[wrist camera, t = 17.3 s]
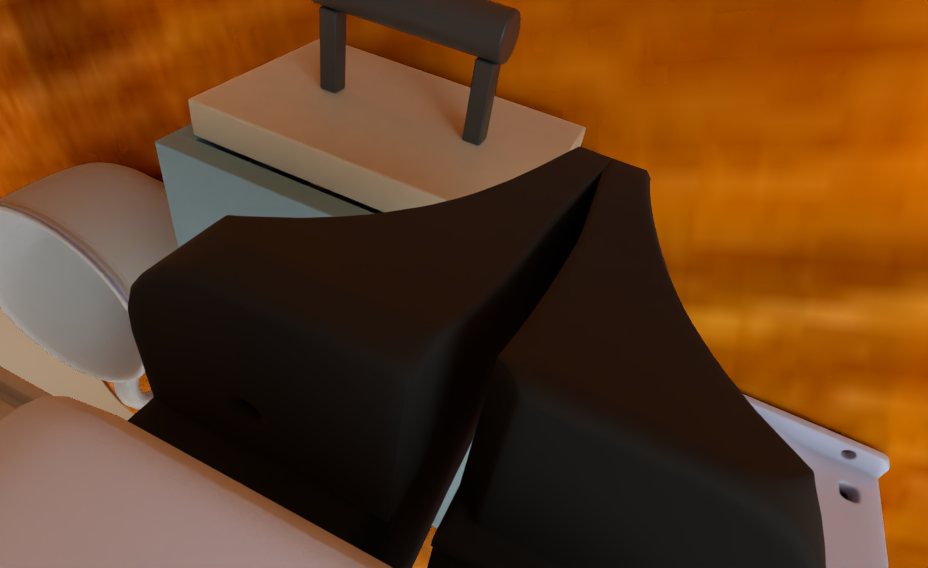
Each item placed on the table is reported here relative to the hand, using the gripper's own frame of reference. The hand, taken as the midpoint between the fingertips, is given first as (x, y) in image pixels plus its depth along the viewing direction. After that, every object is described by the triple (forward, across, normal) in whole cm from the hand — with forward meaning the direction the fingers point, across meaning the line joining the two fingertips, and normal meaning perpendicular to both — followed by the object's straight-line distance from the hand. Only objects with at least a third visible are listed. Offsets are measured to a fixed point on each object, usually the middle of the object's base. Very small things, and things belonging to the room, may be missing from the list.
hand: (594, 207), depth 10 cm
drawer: (+10, +7, +7) cm, 14 cm away
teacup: (+11, +23, +19) cm, 32 cm away
